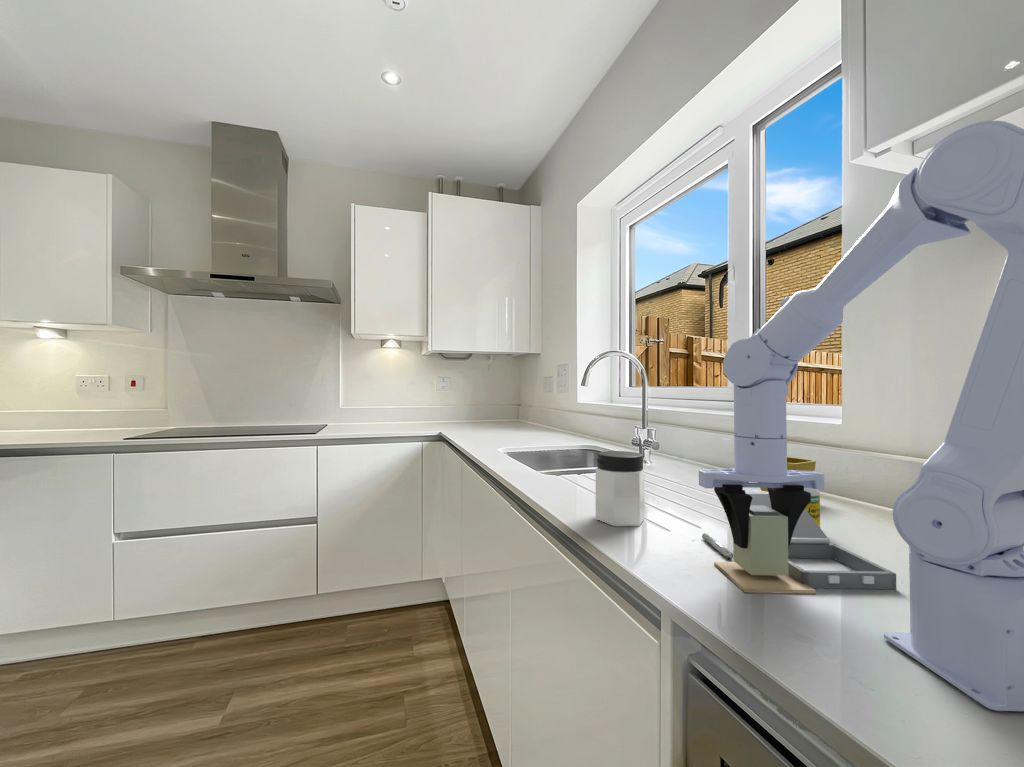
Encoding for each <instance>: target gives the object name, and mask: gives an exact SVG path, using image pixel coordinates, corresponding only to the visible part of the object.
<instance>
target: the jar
mask: <svg viewBox="0 0 1024 767" xmlns="http://www.w3.org/2000/svg"><path fill="white" fill-rule="evenodd" d="M596 457H597V458H596V464H597V465H596V466H597V467H596V468H595V520H596V519H597V520H596V521H598V520H600V521H599V522H601V521H602V522H601V523H603V522H605V523H604V524H606V523H607V525H609V524H610V526H612V527H639V526H641V524H642V523H643V522H644V520H645V468H644V455H643V454H642V453H640V452H634V451H626V450H625V451H623V450H605V451H599V452H597V455H596Z"/></svg>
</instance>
